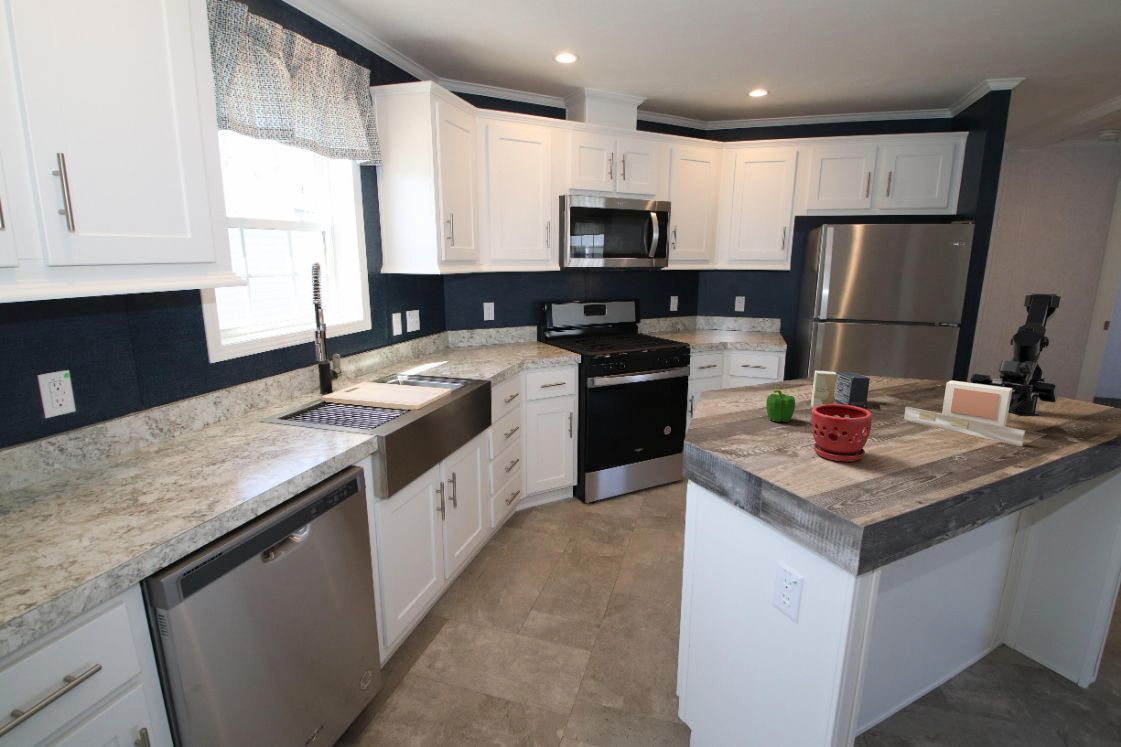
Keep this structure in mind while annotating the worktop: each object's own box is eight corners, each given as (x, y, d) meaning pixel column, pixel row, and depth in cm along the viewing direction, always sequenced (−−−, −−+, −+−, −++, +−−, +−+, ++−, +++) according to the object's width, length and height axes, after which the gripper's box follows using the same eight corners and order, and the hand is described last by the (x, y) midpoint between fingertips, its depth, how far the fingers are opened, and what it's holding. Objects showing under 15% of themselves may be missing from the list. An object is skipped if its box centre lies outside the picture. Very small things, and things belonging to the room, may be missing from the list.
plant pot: (815, 443, 142) (819, 400, 139) (871, 454, 134) (876, 408, 131) (801, 457, 132) (805, 411, 130) (860, 469, 124) (866, 420, 121)
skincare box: (812, 408, 176) (815, 372, 174) (810, 405, 180) (813, 370, 178) (833, 409, 175) (837, 373, 172) (831, 406, 179) (834, 371, 176)
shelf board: (932, 415, 167) (934, 398, 166) (1046, 439, 144) (1049, 420, 143) (903, 424, 158) (905, 407, 157) (1020, 452, 135) (1023, 431, 134)
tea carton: (947, 417, 159) (953, 379, 157) (1006, 428, 149) (1014, 386, 147) (938, 424, 153) (944, 384, 150) (1000, 435, 142) (1007, 392, 140)
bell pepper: (788, 417, 167) (791, 386, 165) (797, 424, 159) (800, 392, 157) (761, 416, 168) (763, 385, 166) (768, 424, 160) (771, 391, 158)
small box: (867, 408, 177) (871, 377, 175) (848, 408, 177) (851, 377, 175) (851, 400, 187) (854, 371, 185) (832, 400, 187) (835, 371, 185)
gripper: (977, 346, 155) (956, 388, 151) (1061, 353, 140) (1041, 400, 136) (983, 369, 161) (964, 410, 157) (1066, 379, 146) (1046, 424, 142)
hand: (1001, 410), depth 148 cm, fingers closed
